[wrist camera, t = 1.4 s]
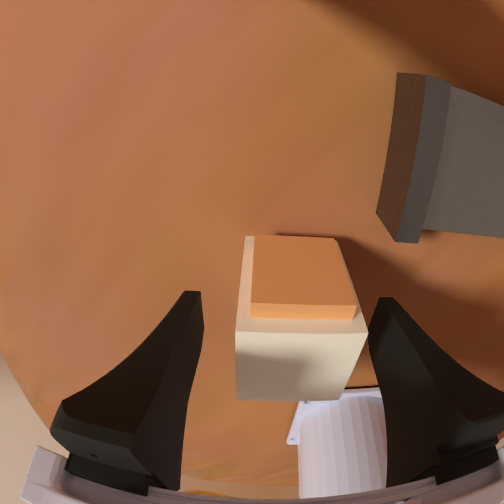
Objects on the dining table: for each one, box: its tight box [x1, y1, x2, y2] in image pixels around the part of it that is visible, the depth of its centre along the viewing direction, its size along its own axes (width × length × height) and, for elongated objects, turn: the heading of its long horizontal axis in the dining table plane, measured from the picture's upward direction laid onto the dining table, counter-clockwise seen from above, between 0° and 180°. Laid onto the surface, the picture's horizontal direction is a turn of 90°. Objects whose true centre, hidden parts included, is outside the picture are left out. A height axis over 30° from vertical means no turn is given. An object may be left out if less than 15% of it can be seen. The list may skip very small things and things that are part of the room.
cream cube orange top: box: [235, 234, 368, 401], centre depth 12 cm, size 4×5×6 cm
